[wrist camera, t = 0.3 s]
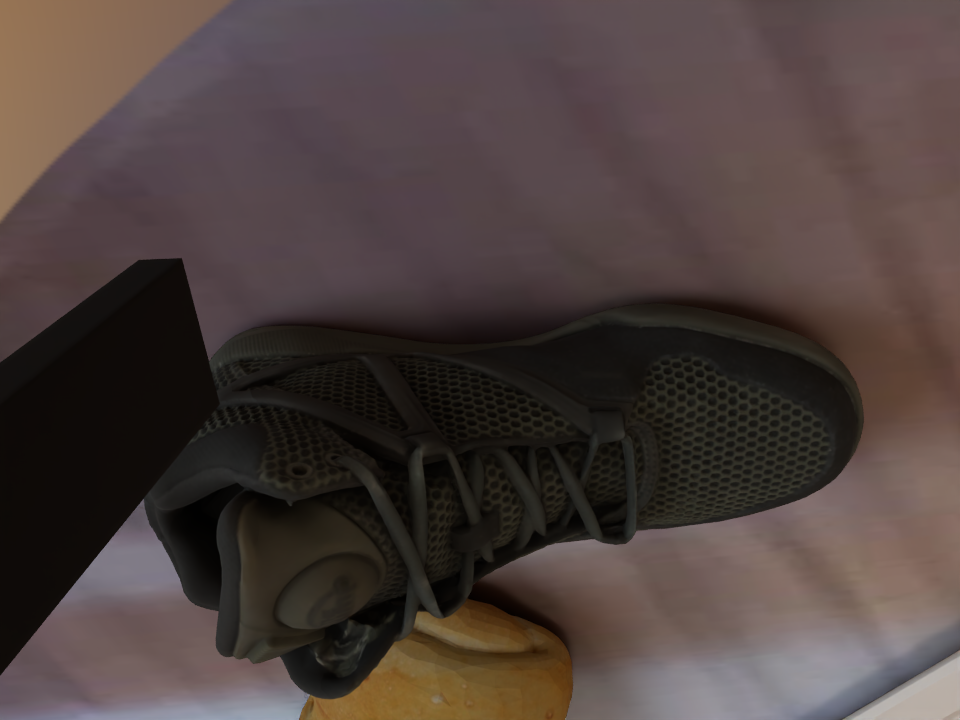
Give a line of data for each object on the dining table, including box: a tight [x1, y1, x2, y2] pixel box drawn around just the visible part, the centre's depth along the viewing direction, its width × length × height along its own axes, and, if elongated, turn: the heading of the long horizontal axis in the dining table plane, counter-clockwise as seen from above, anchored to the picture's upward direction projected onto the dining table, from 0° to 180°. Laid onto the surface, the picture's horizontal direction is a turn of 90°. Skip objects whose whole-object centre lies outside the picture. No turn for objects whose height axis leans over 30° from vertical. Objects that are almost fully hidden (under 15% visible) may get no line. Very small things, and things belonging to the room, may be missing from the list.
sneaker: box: [144, 303, 864, 699], centre depth 35 cm, size 12×29×17 cm, turn 98°
